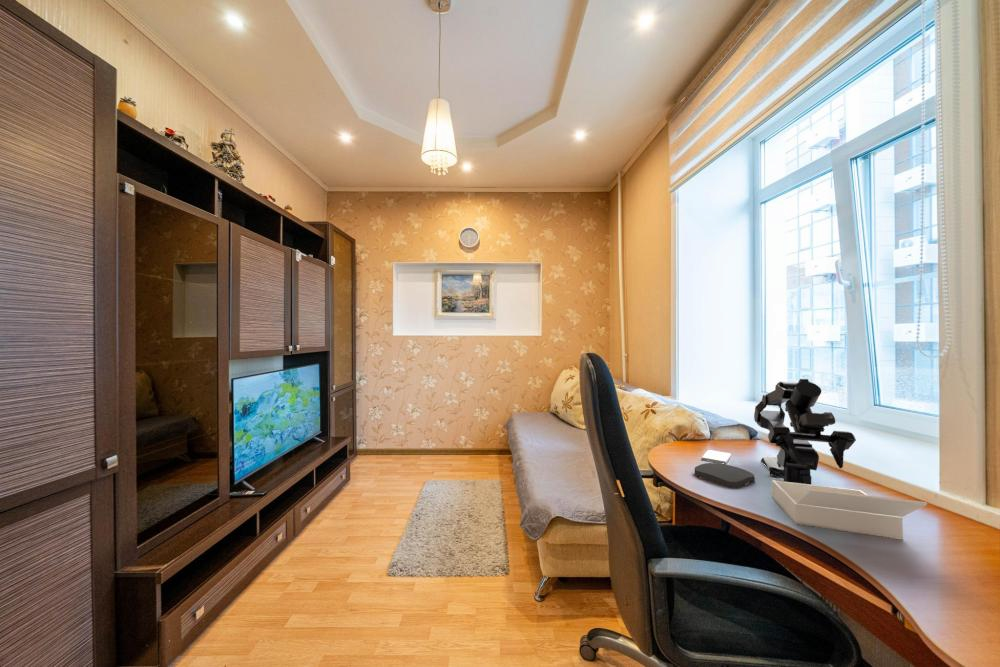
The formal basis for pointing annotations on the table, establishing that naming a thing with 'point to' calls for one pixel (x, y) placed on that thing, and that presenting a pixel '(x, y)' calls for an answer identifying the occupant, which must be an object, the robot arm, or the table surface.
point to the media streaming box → (725, 474)
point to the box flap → (860, 502)
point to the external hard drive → (716, 456)
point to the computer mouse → (773, 465)
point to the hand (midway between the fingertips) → (820, 465)
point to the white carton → (833, 512)
